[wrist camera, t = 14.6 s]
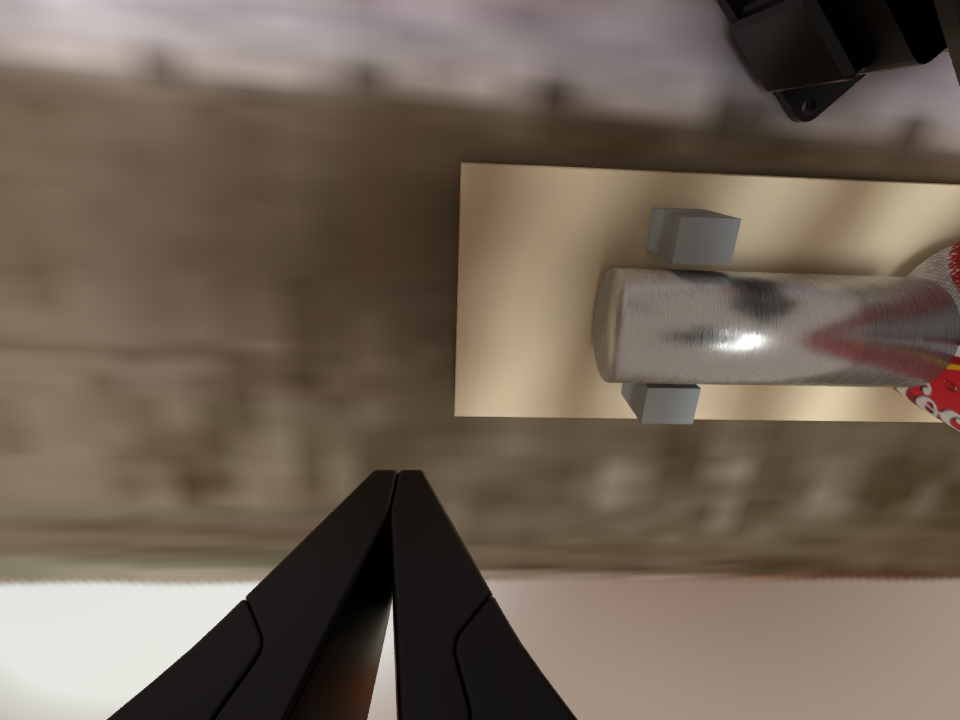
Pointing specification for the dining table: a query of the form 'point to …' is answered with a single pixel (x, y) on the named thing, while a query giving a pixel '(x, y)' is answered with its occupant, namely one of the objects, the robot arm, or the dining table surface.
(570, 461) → the dining table surface
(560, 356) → the cradle
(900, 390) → the soda can
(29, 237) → the dining table surface
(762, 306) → the shaft
